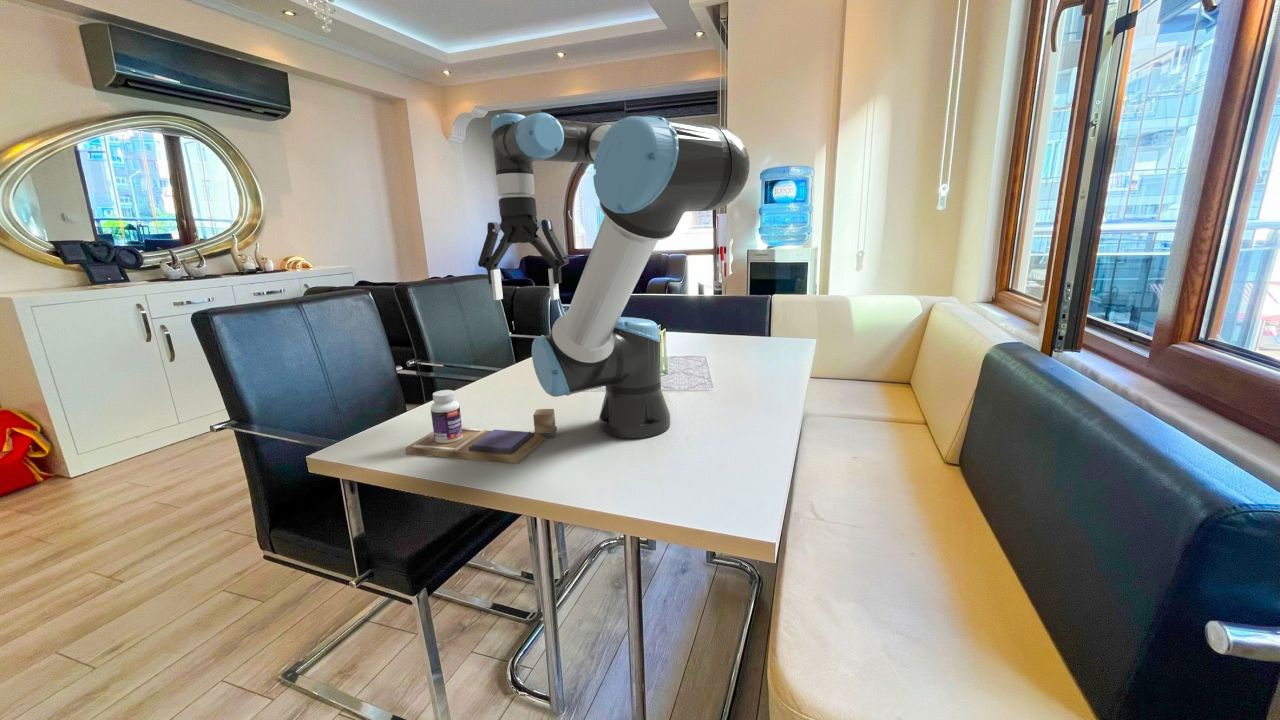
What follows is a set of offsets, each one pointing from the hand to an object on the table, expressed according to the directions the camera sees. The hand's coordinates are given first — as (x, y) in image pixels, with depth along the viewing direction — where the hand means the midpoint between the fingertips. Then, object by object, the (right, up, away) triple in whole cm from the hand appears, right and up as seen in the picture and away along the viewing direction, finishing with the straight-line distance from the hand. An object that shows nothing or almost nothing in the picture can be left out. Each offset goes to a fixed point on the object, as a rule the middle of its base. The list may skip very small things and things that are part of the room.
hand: (526, 299), depth 112 cm
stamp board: (-8, -30, -10) cm, 33 cm away
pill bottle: (-14, -29, -8) cm, 33 cm away
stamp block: (+5, -29, -5) cm, 29 cm away
